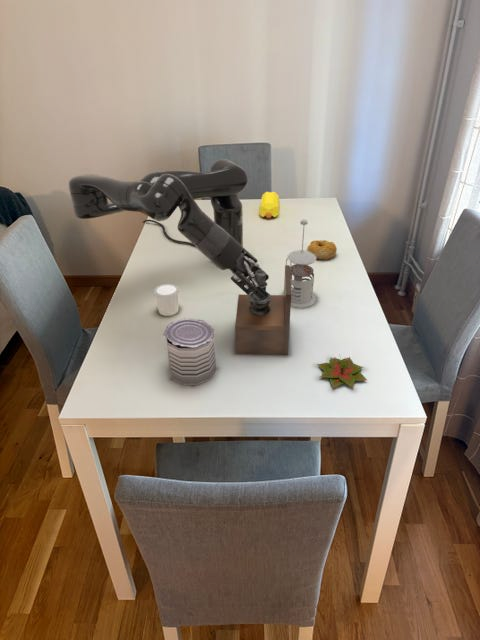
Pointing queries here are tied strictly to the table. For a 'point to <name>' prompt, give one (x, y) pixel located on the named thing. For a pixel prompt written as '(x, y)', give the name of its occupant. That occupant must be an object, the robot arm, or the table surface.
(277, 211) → the yellow lumpy bar
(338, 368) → the succulent plant
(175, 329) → the can
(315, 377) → the table surface
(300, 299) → the french press
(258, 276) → the chess piece
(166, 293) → the white short cylinder
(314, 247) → the bagel
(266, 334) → the l-shaped wooden block
